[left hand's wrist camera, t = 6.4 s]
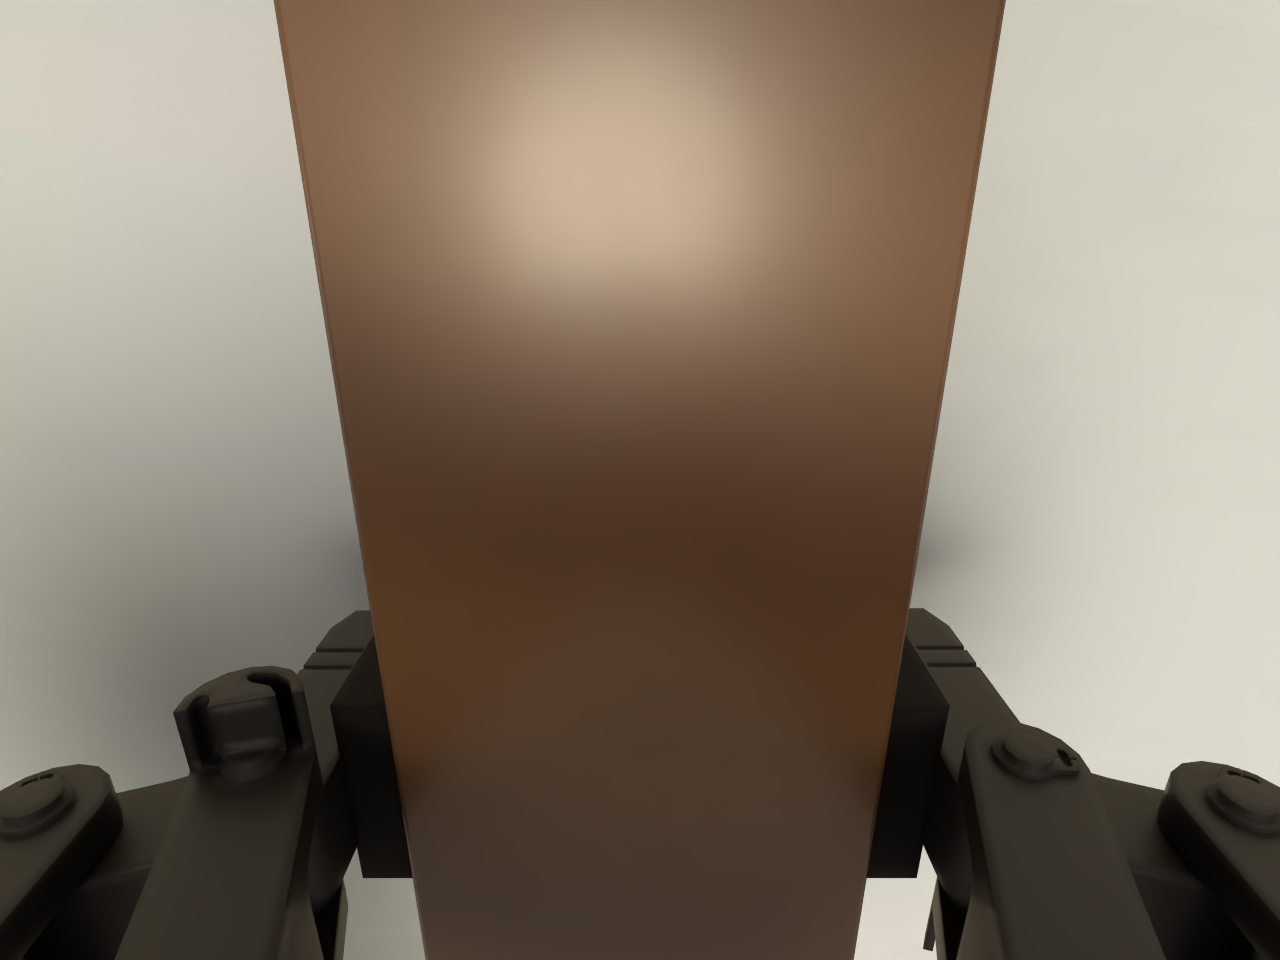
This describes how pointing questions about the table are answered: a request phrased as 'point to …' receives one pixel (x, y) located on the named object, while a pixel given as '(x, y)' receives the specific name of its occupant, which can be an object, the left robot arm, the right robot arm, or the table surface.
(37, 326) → the table surface
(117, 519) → the table surface
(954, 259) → the beam
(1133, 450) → the table surface
